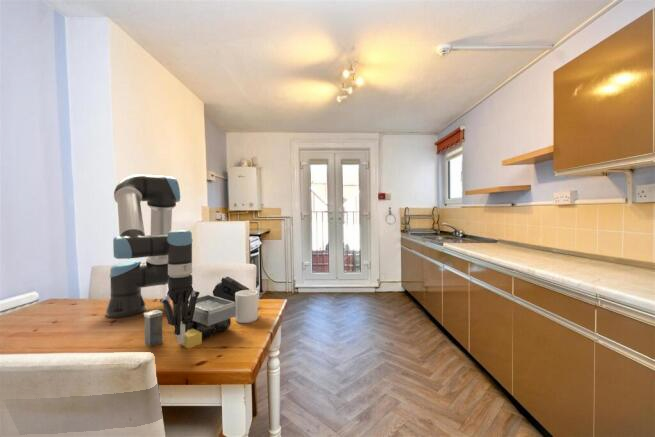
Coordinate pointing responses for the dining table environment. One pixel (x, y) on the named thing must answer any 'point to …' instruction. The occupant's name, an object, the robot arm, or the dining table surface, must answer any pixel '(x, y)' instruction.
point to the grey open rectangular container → (212, 315)
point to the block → (192, 338)
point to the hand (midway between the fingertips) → (181, 342)
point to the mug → (246, 306)
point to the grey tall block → (153, 327)
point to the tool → (228, 289)
